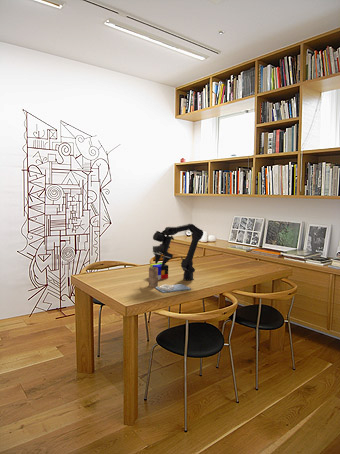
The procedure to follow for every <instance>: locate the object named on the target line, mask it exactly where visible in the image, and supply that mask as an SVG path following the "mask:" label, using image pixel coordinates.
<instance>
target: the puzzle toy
mask: <svg viewBox="0 0 340 454" xmlns="http://www.w3.org/2000/svg"><path fill="white" fill-rule="evenodd" d="M149 267H157V268H158V281H159V280H163V279H168V278H169V265H168V264H167V263H166V264H165V265H164V266H162V262H158V263H157V264H155V263H150V264H149Z"/></svg>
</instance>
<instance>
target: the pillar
mask: <svg viewBox="0 0 340 454" xmlns="http://www.w3.org/2000/svg"><path fill="white" fill-rule="evenodd" d="M148 286H149V287H150V288H155V287H159V280H158V268H157V267H150V266H149V267H148Z"/></svg>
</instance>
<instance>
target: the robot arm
mask: <svg viewBox="0 0 340 454" xmlns="http://www.w3.org/2000/svg"><path fill="white" fill-rule="evenodd" d="M186 231H190V233H191V242H190V245H189V248H188V251H187V253H186V257H185V258H182V260H181V262H180V267H181V269H182V270H183V277H182V279H183V280H185V281H193V280H194V281H195V278H194V273H195V272H196V268H194V266H193V265H194V262H193V258H194V256H195V252H196V251H197V247H198V243H199V242H200V241H201V240H202V238H203V236H204V231H203V229H200V228H199V227H198V226H196V225H195V224H193V223H188V224H183V225H179V226H167V227H165V228H164V229H163V230H162V231H159V230H156V231H155V233H154V234H153V235H152V240H154V241H155V242H159V243H160V244H159V245H152V253H153V254H154V255H153V256H154V264H157V263H159V262H160V259H161V258H162V262H161V263H162V266H164V265H165V264H166V265H167V263H168V262H169V260H171V259H173V258H174V255H173V253H170V252H168V251H169V249H170V248H171V247H170V244H171V243H172V242H171V241H174V240H175V238H174V236H175V235H177V234H178V233H182V232H186Z"/></svg>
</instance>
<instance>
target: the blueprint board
mask: <svg viewBox="0 0 340 454" xmlns="http://www.w3.org/2000/svg"><path fill="white" fill-rule="evenodd" d="M154 288H155V290H157V291H159V292H161V293H162V294H163V293H164V294H166V292H167V293H172V292H174V291H175V292H181V291H189V290H192V289H191V287H189V286H187V285H186V284H183V283H179V284H178V283H177V284H171V285H170V284H162V285H161V286H157V287H154ZM175 292H174V293H175Z"/></svg>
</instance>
